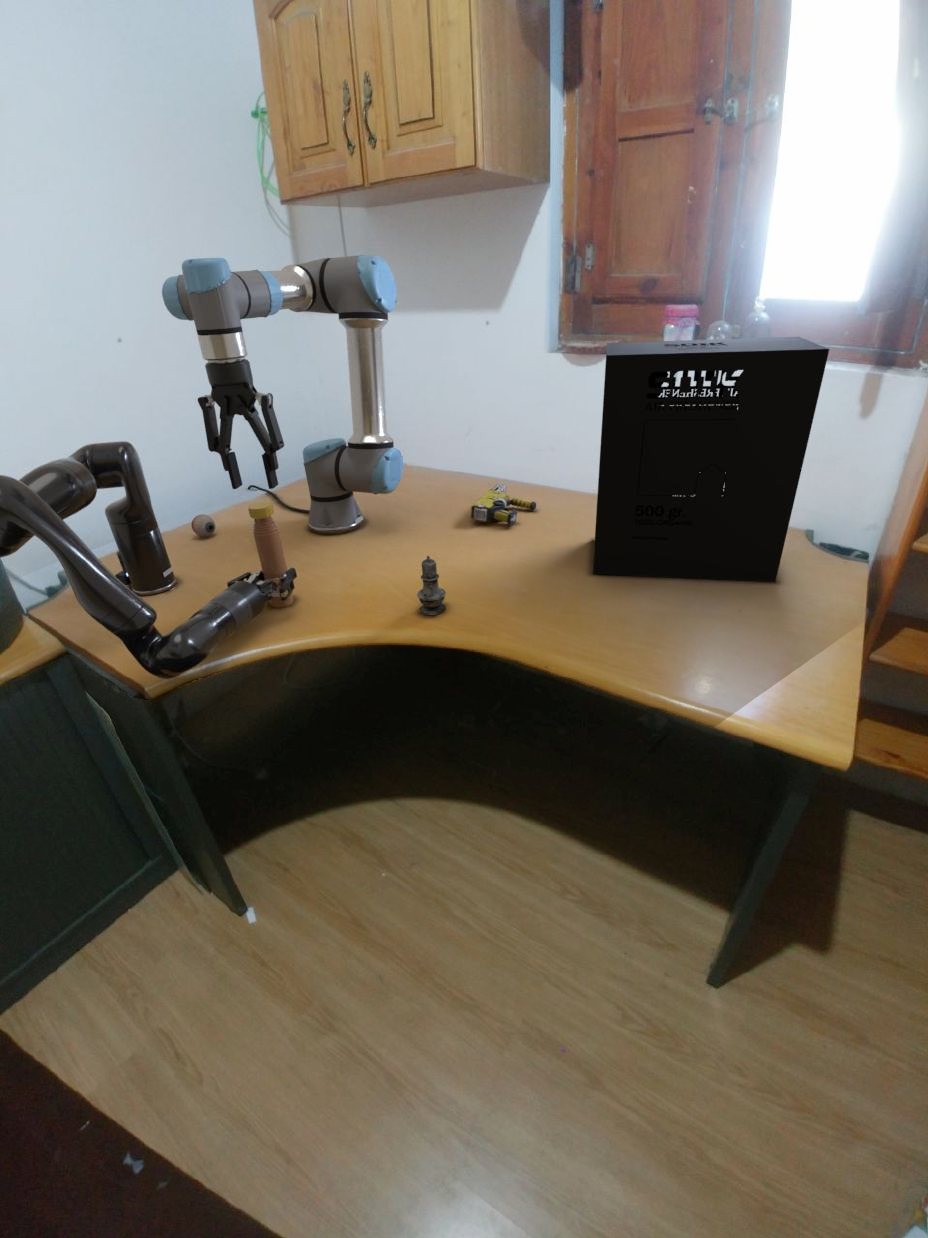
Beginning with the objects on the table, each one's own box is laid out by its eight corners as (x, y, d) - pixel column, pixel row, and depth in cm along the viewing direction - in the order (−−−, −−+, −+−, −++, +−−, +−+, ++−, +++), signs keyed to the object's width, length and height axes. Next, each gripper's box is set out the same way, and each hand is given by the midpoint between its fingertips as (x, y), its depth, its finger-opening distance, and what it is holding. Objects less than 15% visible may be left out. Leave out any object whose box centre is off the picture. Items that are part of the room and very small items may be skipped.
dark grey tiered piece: (443, 616, 121) (439, 562, 115) (415, 615, 122) (409, 561, 116) (449, 602, 126) (446, 549, 120) (422, 601, 127) (417, 548, 121)
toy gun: (544, 489, 177) (495, 482, 181) (524, 514, 157) (469, 505, 161) (542, 504, 180) (494, 497, 183) (522, 531, 159) (468, 521, 163)
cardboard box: (755, 543, 144) (798, 336, 121) (775, 581, 127) (829, 348, 104) (594, 538, 151) (606, 342, 129) (592, 573, 134) (606, 355, 112)
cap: (264, 509, 124) (262, 499, 122) (278, 513, 121) (276, 503, 120) (245, 516, 120) (243, 506, 119) (259, 520, 118) (257, 510, 117)
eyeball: (204, 541, 163) (198, 520, 160) (190, 537, 166) (184, 517, 163) (223, 533, 168) (217, 513, 165) (208, 530, 171) (202, 510, 168)
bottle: (284, 594, 134) (263, 501, 123) (298, 600, 131) (278, 505, 120) (265, 603, 130) (242, 508, 120) (279, 609, 128) (257, 512, 117)
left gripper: (261, 594, 112) (309, 557, 126) (198, 587, 116) (250, 551, 130) (270, 629, 116) (315, 589, 130) (208, 620, 120) (258, 582, 134)
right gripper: (287, 354, 108) (310, 480, 120) (186, 359, 111) (218, 481, 122) (270, 360, 102) (296, 492, 113) (163, 364, 105) (199, 493, 116)
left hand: (282, 570), depth 130 cm, fingers closed on bottle, 5 cm apart
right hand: (255, 486), depth 118 cm, fingers open, 7 cm apart
